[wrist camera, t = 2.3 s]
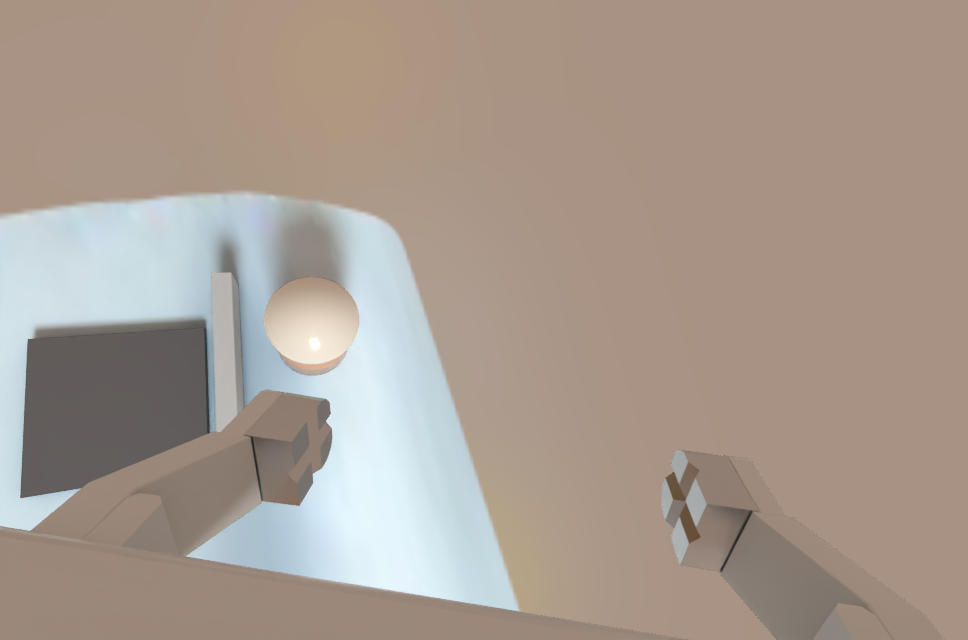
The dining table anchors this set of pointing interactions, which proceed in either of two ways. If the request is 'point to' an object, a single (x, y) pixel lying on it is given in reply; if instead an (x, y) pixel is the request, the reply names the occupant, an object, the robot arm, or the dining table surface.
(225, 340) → the divider
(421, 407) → the dining table surface
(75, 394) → the plate
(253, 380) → the dining table surface
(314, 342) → the jar
